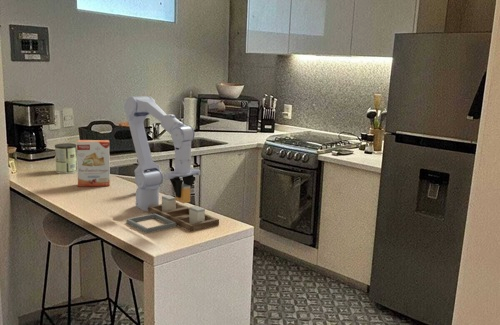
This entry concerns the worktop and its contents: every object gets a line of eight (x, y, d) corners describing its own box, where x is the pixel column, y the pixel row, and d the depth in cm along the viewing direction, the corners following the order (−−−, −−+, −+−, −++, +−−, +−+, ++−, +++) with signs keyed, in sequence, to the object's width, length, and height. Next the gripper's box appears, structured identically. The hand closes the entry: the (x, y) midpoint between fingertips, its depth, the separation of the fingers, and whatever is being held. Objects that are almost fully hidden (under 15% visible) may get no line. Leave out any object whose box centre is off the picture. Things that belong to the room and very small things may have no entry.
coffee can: (61, 169, 254) (60, 142, 251) (80, 170, 253) (79, 143, 250) (52, 173, 244) (50, 145, 241) (71, 174, 243) (70, 146, 240)
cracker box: (77, 187, 217) (76, 141, 213) (78, 184, 223) (77, 139, 219) (110, 186, 221) (109, 141, 217) (110, 183, 227) (109, 139, 223)
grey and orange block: (175, 200, 175) (175, 184, 174) (182, 198, 177) (182, 183, 176) (183, 203, 171) (183, 186, 170) (190, 201, 173) (190, 185, 172)
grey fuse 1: (161, 211, 183) (161, 196, 182) (168, 210, 185) (168, 194, 184) (169, 214, 179) (169, 199, 178) (175, 213, 181) (175, 197, 180)
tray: (126, 225, 168) (126, 219, 168) (155, 219, 176) (155, 213, 175) (146, 235, 158) (146, 229, 158) (176, 228, 166) (176, 222, 166)
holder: (148, 213, 182) (147, 206, 181) (174, 208, 190) (174, 201, 189) (191, 233, 162) (191, 225, 161) (219, 227, 170) (219, 219, 169)
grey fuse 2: (189, 223, 170) (189, 207, 169) (196, 221, 172) (196, 205, 171) (197, 227, 166) (197, 210, 165) (204, 225, 168) (204, 208, 167)
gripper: (171, 163, 164) (171, 202, 166) (205, 159, 173) (205, 195, 176) (160, 160, 169) (160, 197, 171) (194, 156, 178) (193, 191, 181)
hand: (182, 196), depth 174 cm, fingers closed on grey and orange block, 3 cm apart
